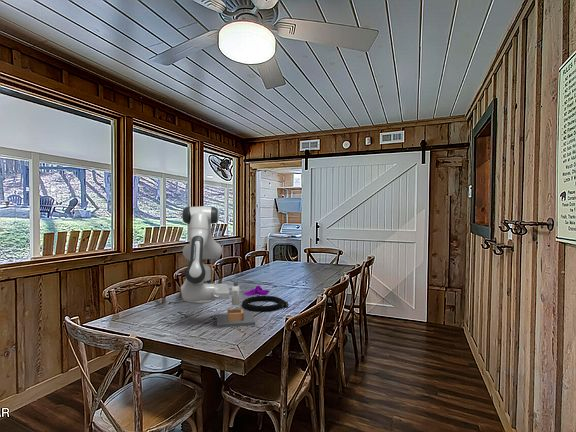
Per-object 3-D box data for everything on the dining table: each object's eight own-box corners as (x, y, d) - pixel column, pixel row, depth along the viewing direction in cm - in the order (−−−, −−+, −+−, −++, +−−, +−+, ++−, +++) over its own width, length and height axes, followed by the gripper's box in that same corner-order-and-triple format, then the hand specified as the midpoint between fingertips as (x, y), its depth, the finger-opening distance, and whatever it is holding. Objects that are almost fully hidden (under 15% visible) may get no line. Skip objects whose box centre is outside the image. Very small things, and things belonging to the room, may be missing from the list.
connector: (230, 303, 181) (230, 280, 181) (237, 302, 183) (237, 279, 183) (233, 305, 178) (234, 281, 178) (240, 304, 180) (240, 280, 180)
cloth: (240, 296, 236) (240, 287, 236) (248, 290, 254) (249, 282, 254) (270, 298, 231) (270, 289, 231) (276, 291, 249) (276, 283, 249)
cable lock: (249, 293, 227) (292, 296, 221) (249, 299, 227) (292, 302, 221) (235, 305, 200) (283, 308, 194) (235, 311, 200) (283, 314, 194)
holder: (217, 327, 171) (217, 317, 171) (216, 317, 186) (216, 308, 186) (255, 324, 175) (255, 314, 175) (251, 315, 191) (251, 306, 191)
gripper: (211, 290, 168) (238, 289, 171) (211, 282, 187) (236, 281, 191) (211, 303, 168) (238, 301, 171) (211, 293, 188) (235, 292, 191)
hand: (237, 290), depth 181 cm, fingers closed on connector, 4 cm apart
